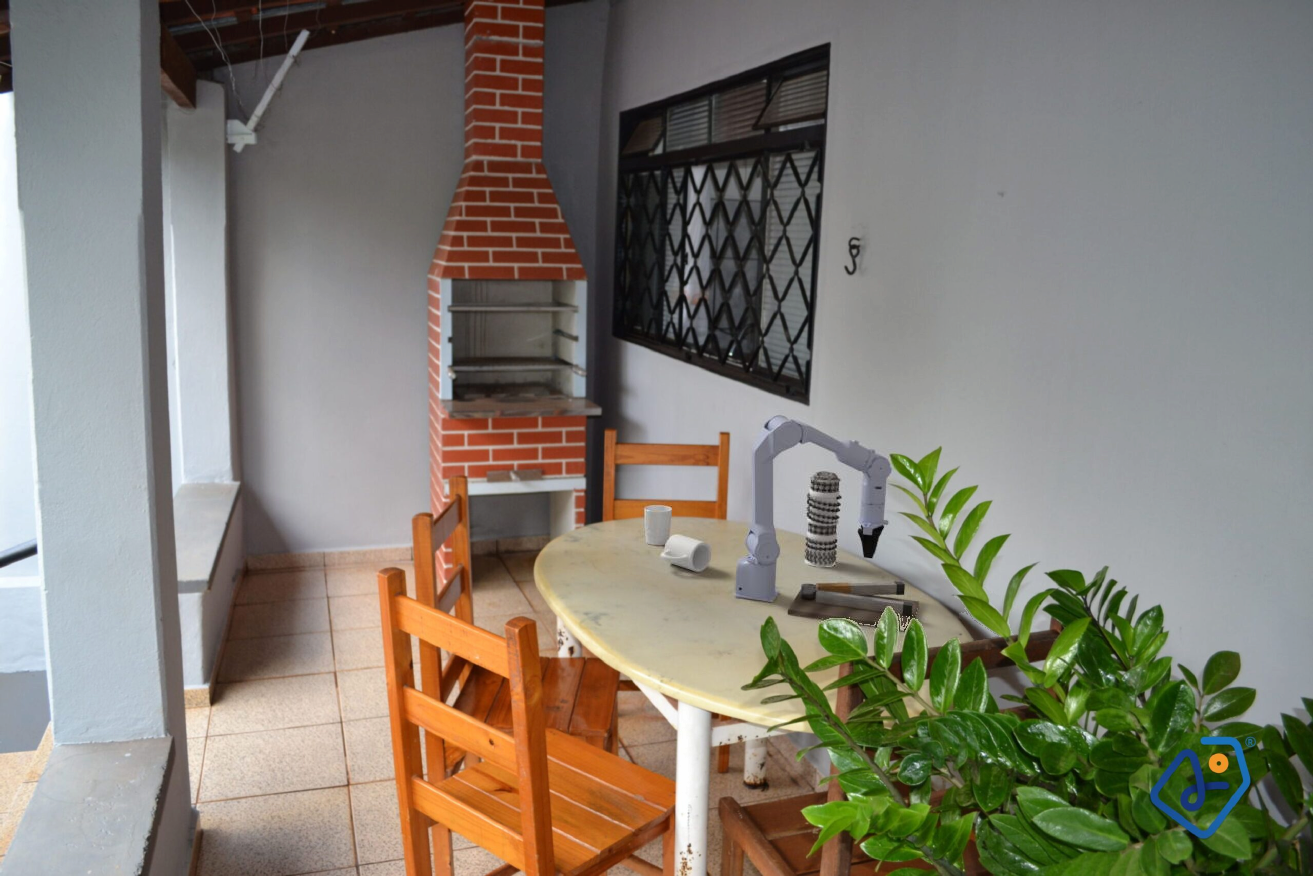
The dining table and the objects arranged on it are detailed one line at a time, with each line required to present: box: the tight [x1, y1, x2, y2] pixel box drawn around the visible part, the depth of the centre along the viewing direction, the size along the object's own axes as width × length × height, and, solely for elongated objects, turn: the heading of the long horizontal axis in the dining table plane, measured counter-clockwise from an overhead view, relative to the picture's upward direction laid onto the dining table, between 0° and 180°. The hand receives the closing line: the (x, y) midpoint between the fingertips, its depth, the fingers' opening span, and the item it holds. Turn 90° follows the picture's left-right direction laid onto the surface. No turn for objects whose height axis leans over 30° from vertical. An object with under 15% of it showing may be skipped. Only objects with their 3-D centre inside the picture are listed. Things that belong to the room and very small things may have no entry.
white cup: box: [644, 504, 673, 546], centre depth 279 cm, size 8×8×10 cm
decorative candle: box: [804, 470, 842, 567], centre depth 263 cm, size 9×9×25 cm
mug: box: [660, 533, 712, 573], centre depth 257 cm, size 12×10×8 cm
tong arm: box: [800, 581, 906, 600], centre depth 235 cm, size 26×4×3 cm, turn 99°
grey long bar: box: [816, 590, 913, 616], centre depth 228 cm, size 22×2×2 cm, turn 71°
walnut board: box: [787, 589, 920, 632], centre depth 230 cm, size 28×18×1 cm, turn 71°
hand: (869, 555), depth 241 cm, fingers open, 3 cm apart
